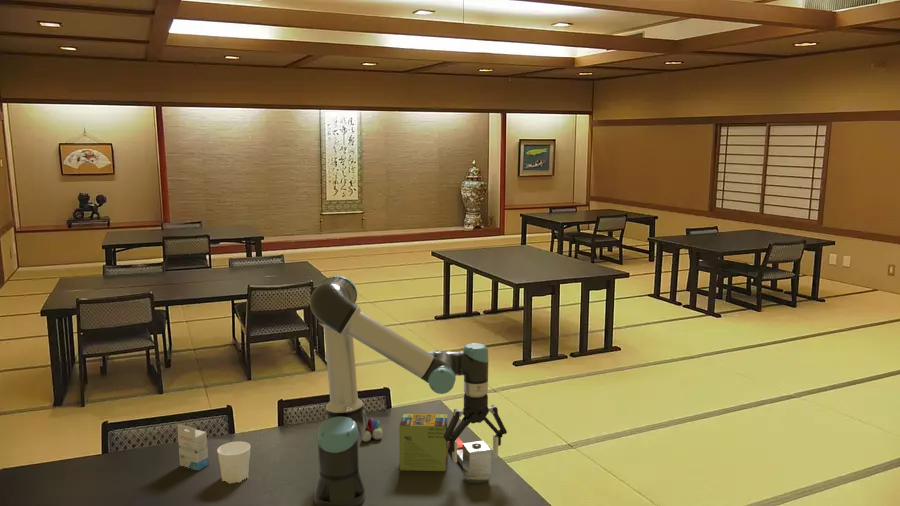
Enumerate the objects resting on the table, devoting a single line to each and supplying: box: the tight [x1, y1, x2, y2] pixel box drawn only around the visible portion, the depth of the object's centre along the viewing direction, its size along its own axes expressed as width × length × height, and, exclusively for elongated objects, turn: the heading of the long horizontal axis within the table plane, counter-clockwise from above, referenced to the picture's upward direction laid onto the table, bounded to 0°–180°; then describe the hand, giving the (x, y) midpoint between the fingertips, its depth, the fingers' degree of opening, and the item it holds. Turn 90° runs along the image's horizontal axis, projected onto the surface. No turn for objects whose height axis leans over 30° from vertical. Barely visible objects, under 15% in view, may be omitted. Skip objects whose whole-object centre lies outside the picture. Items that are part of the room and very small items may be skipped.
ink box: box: [177, 423, 209, 472], centre depth 226 cm, size 8×5×15 cm, turn 62°
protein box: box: [398, 413, 449, 472], centre depth 227 cm, size 10×15×16 cm
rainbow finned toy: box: [361, 417, 384, 443], centre depth 248 cm, size 8×10×7 cm
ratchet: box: [448, 436, 490, 485], centre depth 228 cm, size 8×31×8 cm, turn 17°
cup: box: [216, 441, 251, 485], centre depth 218 cm, size 10×10×10 cm
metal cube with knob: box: [462, 440, 492, 477], centre depth 216 cm, size 7×7×8 cm
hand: (475, 458), depth 216 cm, fingers open, 13 cm apart
